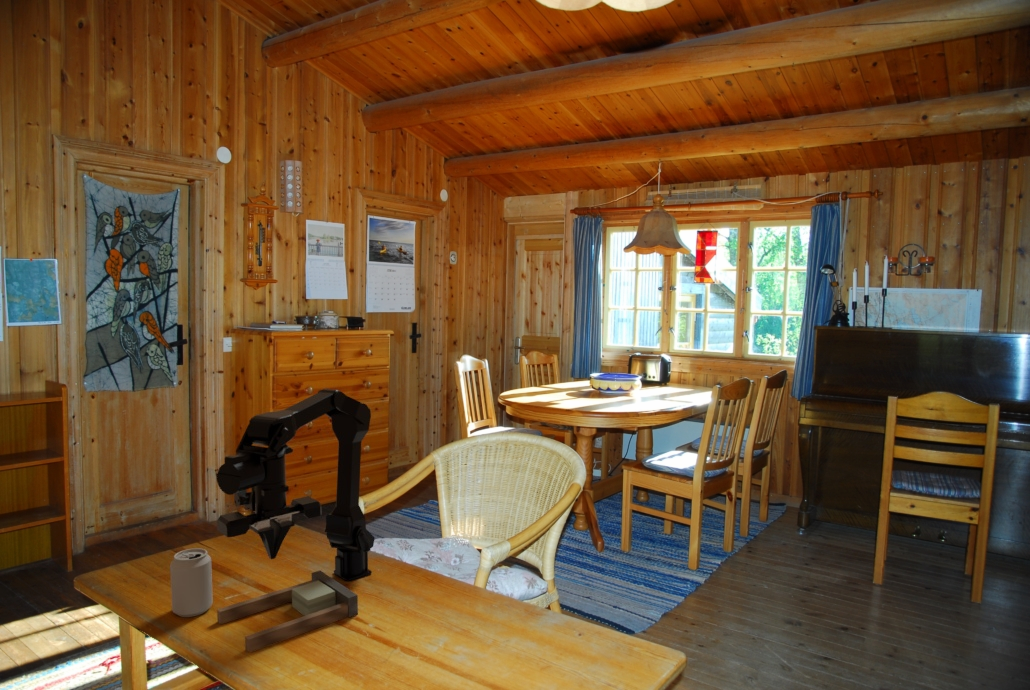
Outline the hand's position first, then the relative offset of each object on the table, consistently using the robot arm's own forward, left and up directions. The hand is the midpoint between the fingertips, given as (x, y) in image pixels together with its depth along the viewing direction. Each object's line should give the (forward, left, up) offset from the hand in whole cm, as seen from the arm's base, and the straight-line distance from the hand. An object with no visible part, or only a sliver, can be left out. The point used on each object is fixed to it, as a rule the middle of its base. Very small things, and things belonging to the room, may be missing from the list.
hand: (272, 558), depth 135 cm
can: (+10, -16, -13) cm, 23 cm away
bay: (-3, 0, -13) cm, 13 cm away
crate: (-8, 0, -13) cm, 16 cm away
